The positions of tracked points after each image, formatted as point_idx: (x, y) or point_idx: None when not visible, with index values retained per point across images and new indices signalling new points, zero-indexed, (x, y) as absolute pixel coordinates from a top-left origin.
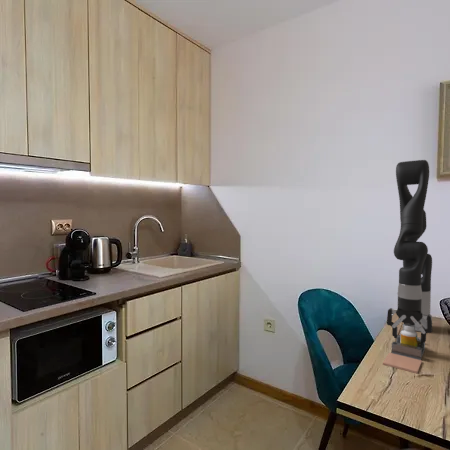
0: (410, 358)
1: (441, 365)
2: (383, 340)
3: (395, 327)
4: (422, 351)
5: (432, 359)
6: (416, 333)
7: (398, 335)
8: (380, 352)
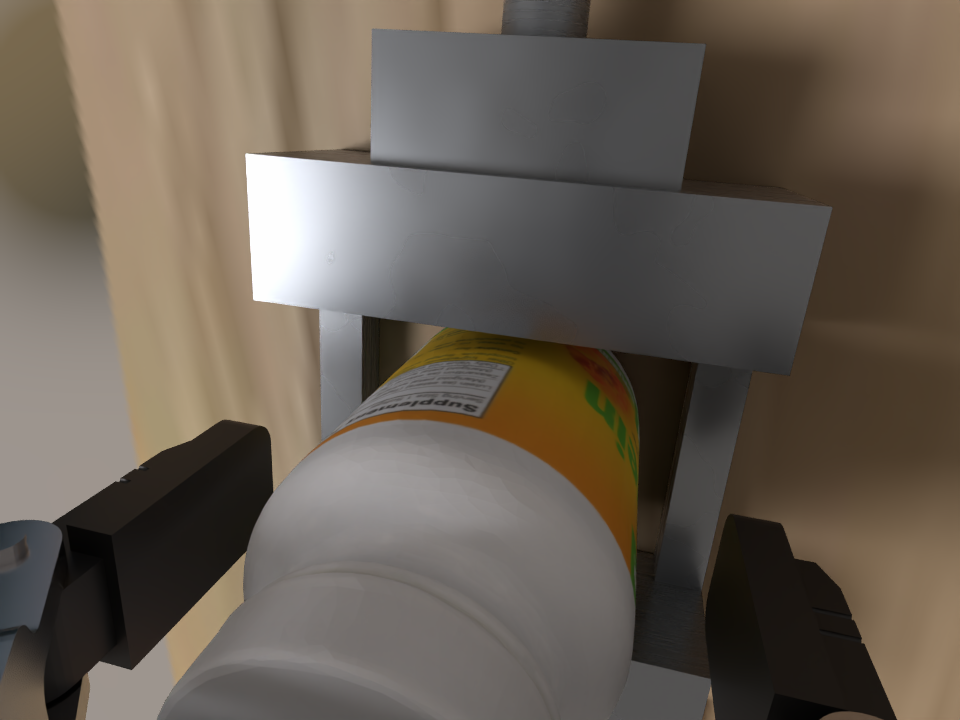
0: None
1: (946, 709)
2: (136, 122)
3: (90, 655)
4: (725, 450)
5: (852, 560)
6: (610, 700)
7: (267, 199)
8: (237, 593)
